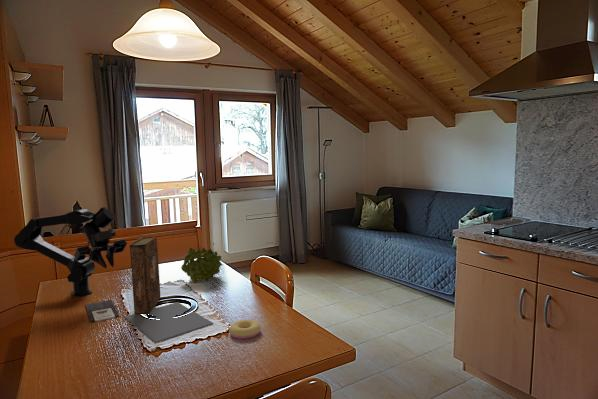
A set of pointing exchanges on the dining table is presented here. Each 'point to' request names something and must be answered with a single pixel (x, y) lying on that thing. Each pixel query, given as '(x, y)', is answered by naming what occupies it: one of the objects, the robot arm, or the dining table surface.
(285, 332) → the dining table surface
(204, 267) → the green leafy plant
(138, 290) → the book
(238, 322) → the donut
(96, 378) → the dining table surface
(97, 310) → the chocolate bar
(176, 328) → the mat
